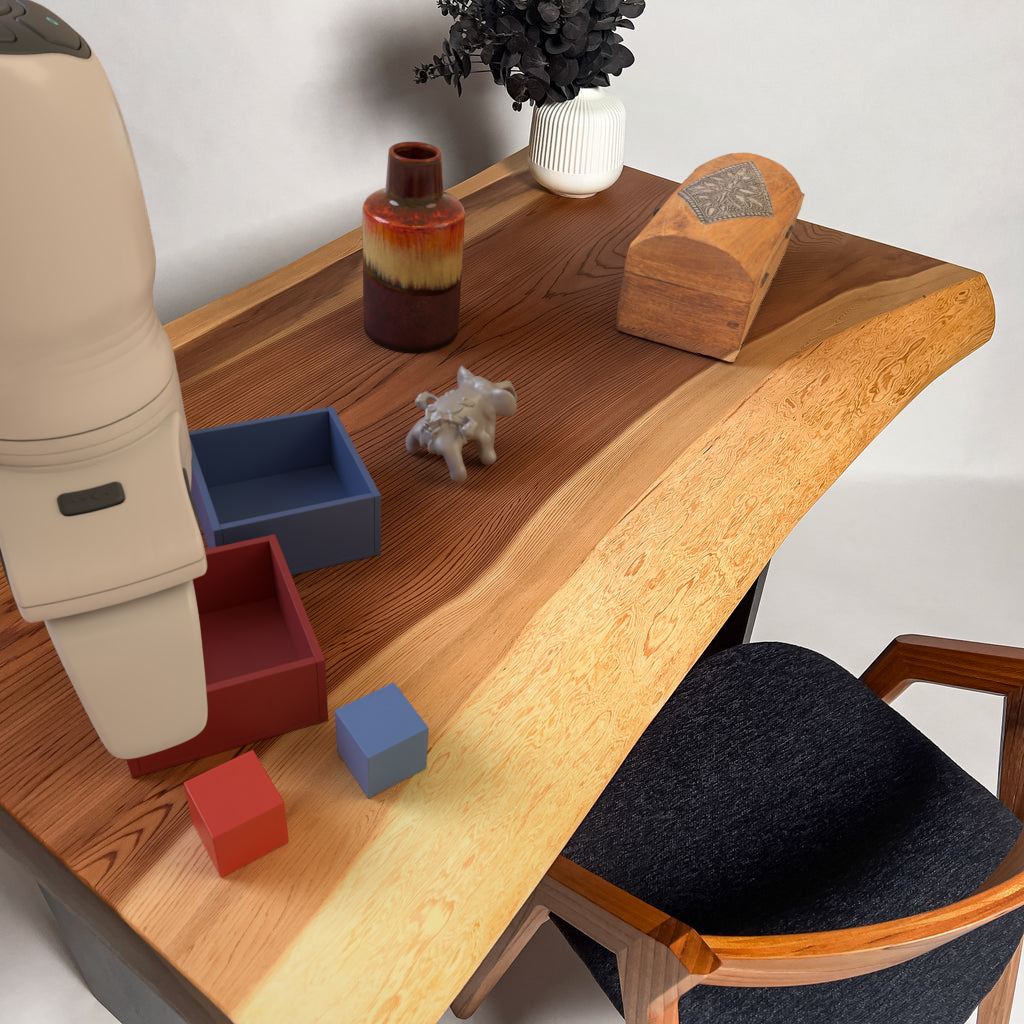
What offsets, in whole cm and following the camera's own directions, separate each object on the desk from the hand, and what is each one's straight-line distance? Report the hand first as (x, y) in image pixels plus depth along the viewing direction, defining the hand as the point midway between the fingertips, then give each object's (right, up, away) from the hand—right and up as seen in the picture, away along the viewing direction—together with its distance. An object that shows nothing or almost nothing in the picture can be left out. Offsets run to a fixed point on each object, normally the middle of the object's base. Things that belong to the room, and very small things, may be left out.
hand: (135, 659), depth 48 cm
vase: (+7, +28, +63) cm, 69 cm away
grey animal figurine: (+14, +13, +46) cm, 50 cm away
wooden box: (+43, +35, +75) cm, 93 cm away
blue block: (+10, -10, +18) cm, 23 cm away
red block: (+1, -13, +13) cm, 18 cm away
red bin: (-3, -5, +22) cm, 23 cm away
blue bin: (-1, +6, +36) cm, 36 cm away
